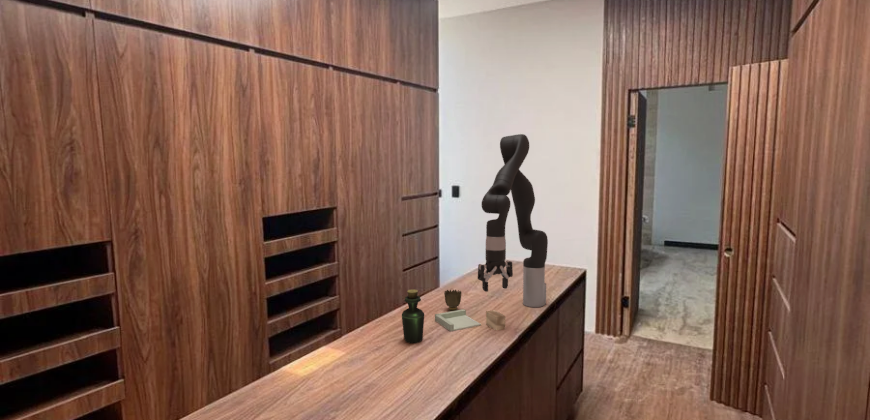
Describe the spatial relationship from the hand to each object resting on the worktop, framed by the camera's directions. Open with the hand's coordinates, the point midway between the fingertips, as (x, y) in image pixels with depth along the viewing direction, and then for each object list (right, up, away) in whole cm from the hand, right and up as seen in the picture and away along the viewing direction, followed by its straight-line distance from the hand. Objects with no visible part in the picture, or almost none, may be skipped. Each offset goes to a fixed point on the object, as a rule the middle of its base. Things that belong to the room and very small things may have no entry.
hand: (495, 289), depth 174 cm
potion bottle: (-31, -16, -10) cm, 36 cm away
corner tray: (-14, -14, +7) cm, 21 cm away
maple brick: (0, -15, +2) cm, 15 cm away
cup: (-15, -13, +22) cm, 29 cm away
